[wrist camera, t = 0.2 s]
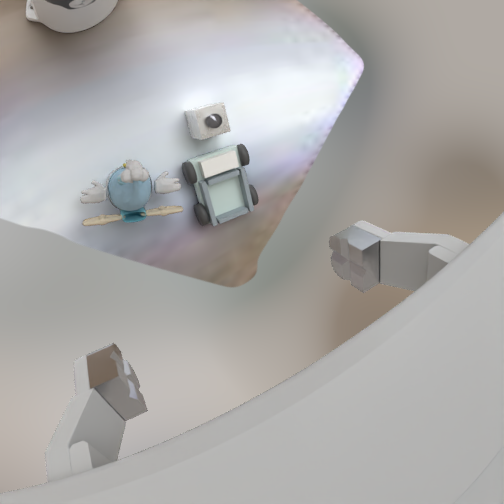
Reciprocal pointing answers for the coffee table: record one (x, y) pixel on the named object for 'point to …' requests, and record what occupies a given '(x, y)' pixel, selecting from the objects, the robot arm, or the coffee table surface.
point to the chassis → (221, 184)
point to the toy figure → (130, 194)
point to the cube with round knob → (207, 121)
